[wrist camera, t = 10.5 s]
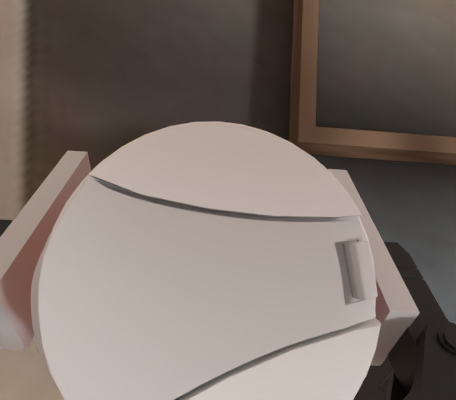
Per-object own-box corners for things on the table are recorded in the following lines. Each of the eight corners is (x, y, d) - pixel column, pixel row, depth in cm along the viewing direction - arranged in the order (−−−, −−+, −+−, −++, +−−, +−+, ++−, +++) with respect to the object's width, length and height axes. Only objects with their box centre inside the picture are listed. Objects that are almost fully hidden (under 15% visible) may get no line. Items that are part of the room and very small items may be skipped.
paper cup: (263, 187, 21) (371, 81, 7) (281, 312, 20) (444, 473, 6) (138, 202, 20) (-14, 119, 6) (150, 331, 19) (7, 555, 6)
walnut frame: (507, -65, 25) (540, -99, 22) (520, 169, 23) (558, 160, 20) (297, -88, 24) (307, -125, 22) (288, 153, 22) (298, 141, 19)
